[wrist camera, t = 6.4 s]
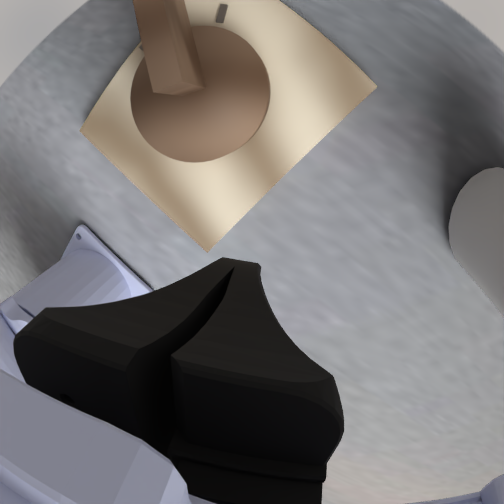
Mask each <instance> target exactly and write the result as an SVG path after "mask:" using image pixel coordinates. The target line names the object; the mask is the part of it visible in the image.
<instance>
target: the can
mask: <svg viewBox="0 0 504 504" xmlns="http://www.w3.org/2000/svg"><path fill="white" fill-rule="evenodd" d="M448 227H449V243H450V246H451V249H452V252H453V255H454V257H455V259H456V260H457V262H458V263H459V264H460V265H461V266H462V268H463V269H464V270H465V271H466V272H467V273H468V275H469V276H470V277H471V278H472V279H473V281H474V282H475V283H476V284H477V285H478V287H479V288H480V289H481V290H482V291H483V293H484V294H485V295H486V296H487V298H488V299H489V300H490V301H491V303H492V304H493V305H494V306H495V308H496V309H497V310H498V312H499V313H500V314H501V316H502V317H503V318H504V168H500V167H495V168H490V169H484V170H483V171H481V172H479V173H478V174H476V175H475V176H473V177H471V178H470V180H469V181H468V182H467V183H466V184H465V186H464V187H463V188H462V189H461V190H460V192H459V194H458V196H457V198H456V201H455V203H454V205H453V207H452V211H451V216H450V221H449V226H448Z"/></svg>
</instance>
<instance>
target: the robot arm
mask: <svg viewBox="0 0 504 504" xmlns="http://www.w3.org/2000/svg"><path fill="white" fill-rule="evenodd" d="M79 234H80V236H81V237H80V236H79ZM260 272H261V266H260V265H259V264H258V263H253V262H247V261H241V260H235V259H229V258H224V257H223V258H220V259H218V260H217V261H215V262H213V263H211V264H209V265H208V266H206V267H204V268H202V269H201V270H199V271H197V272H195V273H193V274H191V275H189V276H187V277H185V278H183V279H181V280H179V281H177V282H175V283H173V284H171V285H168V286H166V287H163V288H161V289H158V290H155V291H153V290H152V289H151V288H150V287H148V286H147V285H146V284H145V283H144V282H143V281H142V280H141V279H140V278H139V277H138V276H136V275H135V274H134V273H133V272H132V271H131V270H130V269H129V268H128V267H127V266H126V265H125V264H124V263H123V262H122V261H121V260H120V259H118V258H117V257H116V256H115V255H114V254H113V253H112V252H111V251H110V250H109V249H108V248H107V247H106V246H105V245H104V244H103V243H102V242H101V241H100V240H99V239H98V238H97V237H96V236H95V235H94V234H93V233H92V232H91V231H90V230H89V229H88V228H87V227H86V226H85V225H80V226H78V227H77V228H76V230H75V232H74V234H73V236H72V238H71V240H70V242H69V244H68V245H67V247H66V249H65V251H64V253H63V255H62V257H61V259H60V261H59V262H57V263H56V264H54V265H53V266H51V267H50V268H49V269H47V270H46V271H45V272H43V273H42V274H40V275H39V276H38V277H36V278H35V279H34V280H32V281H31V282H30V283H28V284H27V285H26V286H24V287H23V288H22V289H20V290H19V291H18V292H17V293H15V294H14V295H13V296H10V297H9V298H7V299H6V300H5V301H3V302H2V303H1V304H0V504H321V501H322V483H324V481H325V479H326V470H327V462H328V461H329V459H330V457H331V456H332V454H333V452H334V451H335V449H336V448H337V446H338V444H339V442H340V441H341V438H342V435H343V432H344V416H343V410H342V405H341V401H340V396H339V392H338V389H337V386H336V383H335V380H334V377H333V375H331V374H330V373H329V372H327V371H326V370H325V369H323V368H322V367H321V366H319V365H318V364H317V363H315V362H314V361H313V360H311V359H310V358H309V357H308V356H307V355H306V354H305V353H304V352H302V351H301V350H300V349H299V348H298V347H297V346H296V345H295V343H294V342H293V341H292V340H291V339H290V338H289V336H288V335H287V334H286V333H285V331H284V330H283V328H282V327H281V325H280V324H279V322H278V320H277V319H276V317H275V315H274V313H273V311H272V309H271V307H270V305H269V303H268V300H267V298H266V295H265V292H264V289H263V286H262V282H261V276H260ZM407 504H504V474H503V475H500V476H499V477H497V478H495V479H493V480H492V481H491V482H489V483H488V484H487V485H486V486H485V487H484V488H483V489H482V490H481V491H480V492H476V493H471V494H467V495H462V496H456V497H451V498H445V499H439V500H432V501H425V502H417V503H407Z"/></svg>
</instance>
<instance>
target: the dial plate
mask: <svg viewBox="0 0 504 504" xmlns="http://www.w3.org/2000/svg"><path fill="white" fill-rule="evenodd" d="M184 2H185V5H186V9H187V13H188V17H189V21H190V25H191V27H193V26H215V27H220V28H224V29H226V30H229V31H232V32H233V33H235V34H237V35H239V36H240V37H242V38H243V39H244V40H246V41H247V42H248V43H249V44H250V45H251V46H252V47H253V48H254V50H255V51H256V52H257V54H258V55H259V56H260V58H261V59H262V61H263V63H264V65H265V67H266V69H267V72H268V75H269V80H270V89H271V95H270V103H269V107H268V111H267V114H266V116H265V119H264V121H263V123H262V125H261V126H260V128H259V129H258V131H257V132H256V133H255V135H254V136H253V137H252V138H251V139H250V140H249V141H248V142H247V143H245V144H244V145H243V146H242V147H240V148H239V149H237V150H235V151H234V152H232V153H229V154H227V155H225V156H223V157H221V158H218V159H215V160H212V161H206V162H196V163H192V162H183V161H178V160H175V159H172V158H169V157H167V156H165V155H163V154H161V153H160V152H158V151H157V150H155V149H154V148H153V147H152V146H151V145H149V144H148V143H147V141H146V140H145V139H144V138H143V136H142V135H141V133H140V132H139V130H138V128H137V126H136V124H135V121H134V118H133V115H132V110H131V101H130V96H131V87H132V81H133V78H134V75H135V72H136V70H137V68H138V66H139V64H140V62H141V61H142V59H143V57H144V51H143V47H142V42H140V43H139V44H138V45H137V47H136V48H135V49H134V50H133V52H132V53H131V54H130V56H129V57H128V58H127V60H126V61H125V62H124V64H123V65H122V66H121V68H120V69H119V70H118V72H117V73H116V75H115V76H114V77H113V79H112V80H111V82H110V83H109V85H108V86H107V88H106V89H105V91H104V92H103V94H102V95H101V97H100V98H99V100H98V101H97V103H96V104H95V106H94V107H93V109H92V111H91V112H90V114H89V116H88V117H87V119H86V120H85V122H84V124H83V126H82V127H81V129H80V132H81V133H82V134H83V135H84V136H85V137H86V138H87V139H88V140H89V141H90V142H91V143H92V144H93V145H94V146H95V147H96V148H97V149H98V150H99V151H100V152H101V153H102V154H103V155H104V156H105V157H106V158H107V159H108V160H109V161H111V162H112V163H113V164H114V165H115V166H116V167H117V168H118V169H119V170H120V171H121V172H122V173H123V174H124V175H125V176H126V177H127V178H128V179H129V180H130V181H131V182H132V183H133V184H134V185H135V186H136V187H138V188H139V189H140V190H141V191H142V192H143V193H144V194H145V195H146V196H147V197H148V198H149V199H150V200H151V201H152V202H153V203H154V204H155V205H157V206H158V207H159V208H160V209H161V210H162V211H163V212H164V213H165V214H166V215H167V216H168V217H169V218H170V219H171V220H173V221H174V222H175V223H176V224H177V225H178V226H179V227H180V228H181V229H182V230H183V231H184V232H185V233H187V234H188V235H189V236H190V237H191V238H192V239H193V240H194V241H195V242H196V243H197V244H198V245H200V246H201V247H202V248H203V249H204V250H205V251H206V252H207V253H208V252H209V251H210V249H211V248H212V247H213V246H214V245H215V244H216V243H217V242H218V241H219V240H220V239H221V238H222V237H223V236H224V235H225V234H226V233H227V232H228V231H229V230H230V229H231V228H232V227H233V226H234V225H235V224H236V223H237V222H238V221H239V220H240V219H241V218H242V217H243V216H244V215H245V214H246V213H247V212H248V211H249V210H250V209H251V208H252V207H253V206H254V205H255V204H256V203H257V202H258V201H259V200H260V199H261V198H262V197H263V196H264V195H265V194H266V193H267V192H268V191H269V190H270V189H271V188H272V187H273V186H274V185H275V184H276V183H277V182H278V181H279V180H280V179H281V178H282V177H283V176H284V175H285V174H286V173H287V172H288V171H289V170H290V169H291V168H292V167H293V166H294V165H295V164H297V163H298V162H299V161H300V160H301V159H302V158H303V157H304V156H305V155H306V154H307V153H308V152H309V151H310V150H311V149H312V148H313V147H314V146H315V145H316V144H317V143H318V142H319V141H320V140H321V139H322V138H323V137H325V136H326V135H327V134H328V133H329V132H330V131H331V130H332V129H333V128H334V127H335V126H336V125H337V124H338V123H339V122H340V121H341V120H342V119H344V118H345V117H346V116H347V115H348V114H349V113H350V112H351V111H352V110H353V109H354V108H355V107H356V106H357V105H358V104H360V103H361V102H362V101H363V100H364V99H365V98H366V97H367V96H368V95H369V94H370V93H371V92H372V91H374V90H375V89H376V88H377V85H376V84H375V83H374V82H373V81H372V80H371V79H370V78H369V77H368V76H367V75H366V74H365V73H364V72H363V71H362V70H361V69H360V68H359V67H358V66H357V65H356V64H355V63H354V62H352V61H351V60H350V59H349V58H348V57H347V56H346V55H345V54H344V53H343V52H342V51H341V50H340V49H338V48H337V47H336V46H335V45H334V44H333V43H332V42H331V41H329V40H328V39H327V38H326V37H325V36H324V35H323V34H321V33H320V32H319V31H318V30H317V29H315V28H314V27H313V26H312V25H310V24H309V23H308V22H307V21H306V20H304V19H303V18H302V17H300V16H299V15H298V14H297V13H295V12H294V11H293V10H291V9H290V8H289V7H287V6H286V5H285V4H283V3H282V2H281V1H279V0H184Z"/></svg>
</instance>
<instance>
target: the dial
mask: <svg viewBox="0 0 504 504" xmlns="http://www.w3.org/2000/svg"><path fill="white" fill-rule="evenodd" d="M133 4H134V9H135V14H136V19H137V24H138V28H139V33H140V38H141V42H142V47H143V51H144V57H143V59H142V61H141V62H140V64H139V66H138V68H137V70H136V72H135V75H134V78H133V81H132V87H131V96H130V101H131V110H132V115H133V118H134V121H135V124H136V126H137V128H138V130H139V132H140V133H141V135H142V136H143V138H144V139H145V140H146V141H147V143H148V144H149V145H151V146H152V147H153V148H154V149H155V150H157V151H158V152H160V153H161V154H163V155H165V156H167V157H169V158H172V159H175V160H178V161H183V162H192V163H196V162H206V161H212V160H215V159H218V158H221V157H223V156H225V155H227V154H229V153H232V152H234V151H235V150H237V149H239V148H240V147H242V146H243V145H244V144H245V143H247V142H248V141H249V140H250V139H251V138H252V137H253V136H254V135H255V133H256V132H257V131H258V129H259V128H260V126H261V125H262V123H263V121H264V119H265V116H266V114H267V111H268V107H269V103H270V95H271V89H270V80H269V75H268V72H267V69H266V67H265V65H264V63H263V61H262V59H261V58H260V56H259V55H258V54H257V52H256V51H255V50H254V48H253V47H252V46H251V45H250V44H249V43H248V42H247V41H246V40H244V39H243V38H242V37H240V36H239V35H237V34H235V33H233V32H232V31H229V30H226V29H224V28H220V27H215V26H193V27H191V25H190V21H189V17H188V13H187V9H186V5H185V2H184V0H133Z"/></svg>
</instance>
